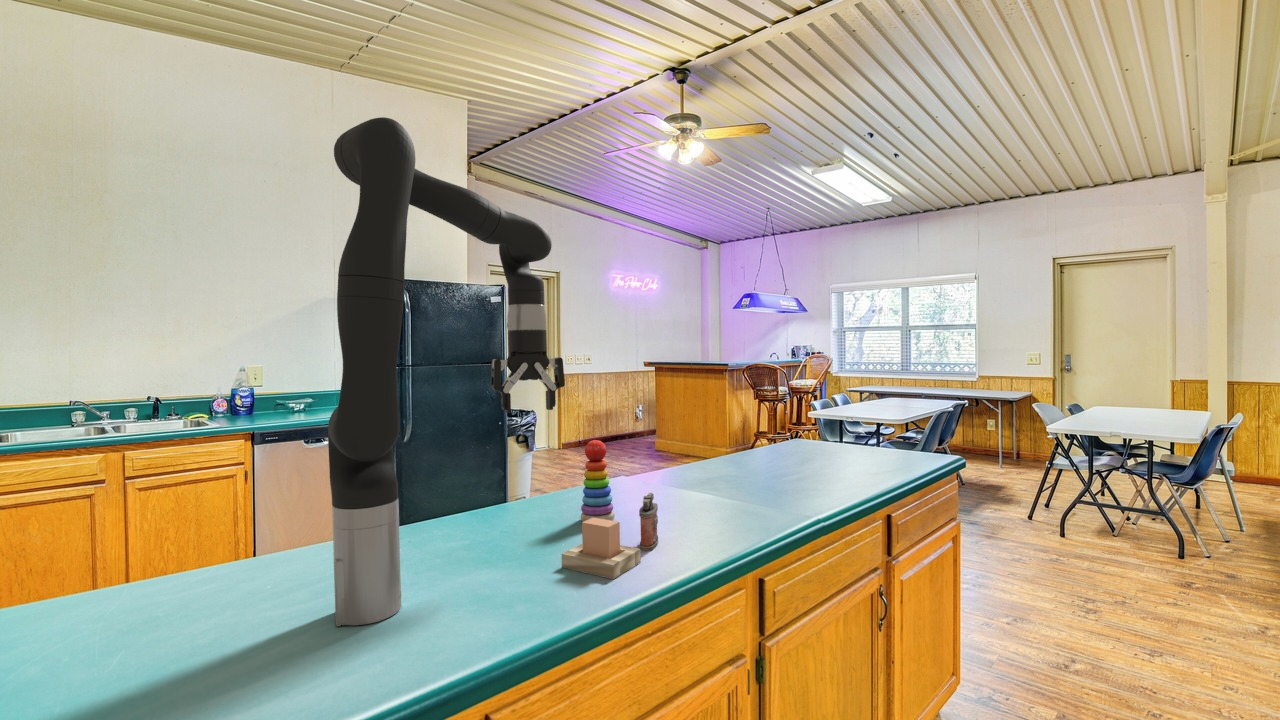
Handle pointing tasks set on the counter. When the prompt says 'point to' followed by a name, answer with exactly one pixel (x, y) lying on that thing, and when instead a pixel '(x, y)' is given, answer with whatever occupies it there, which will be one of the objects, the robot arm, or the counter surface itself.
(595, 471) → the stacking toy
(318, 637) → the counter surface
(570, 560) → the frame
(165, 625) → the counter surface
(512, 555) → the counter surface
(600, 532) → the key block
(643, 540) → the lighter
